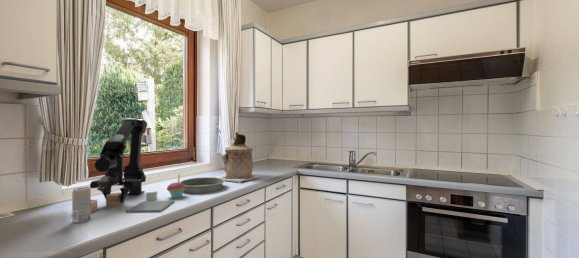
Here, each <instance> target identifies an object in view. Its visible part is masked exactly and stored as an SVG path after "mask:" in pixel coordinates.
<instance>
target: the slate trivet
mask: <svg viewBox="0 0 579 258" xmlns="http://www.w3.org/2000/svg"><path fill="white" fill-rule="evenodd" d="M174 203H175V200H151V201H146V200H143V201H140V202H139V203H137V204H135V205H133V206H131V207H130V208H128V209H126V210H125V213H162V212H163V211H164V210H165V209H167V208H169V207H170V206H172V205H173V204H174Z"/></svg>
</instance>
